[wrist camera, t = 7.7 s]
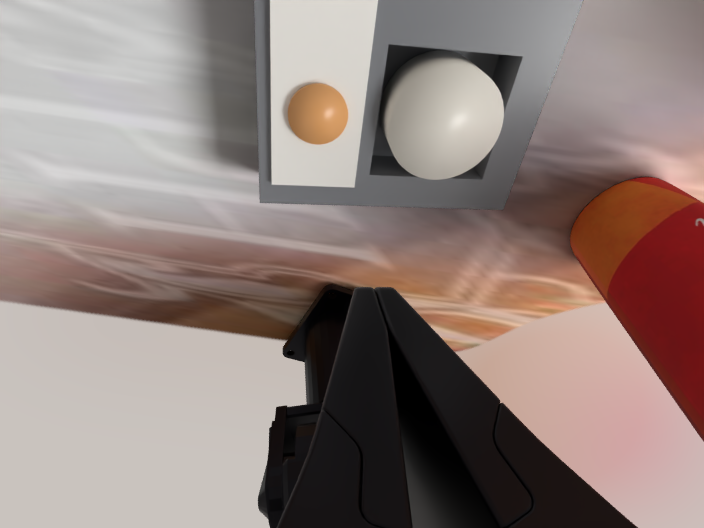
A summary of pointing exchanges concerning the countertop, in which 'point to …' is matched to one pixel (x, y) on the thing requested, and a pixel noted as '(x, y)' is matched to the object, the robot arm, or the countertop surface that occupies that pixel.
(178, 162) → the countertop surface
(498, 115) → the button
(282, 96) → the button board
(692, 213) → the coffee cup
